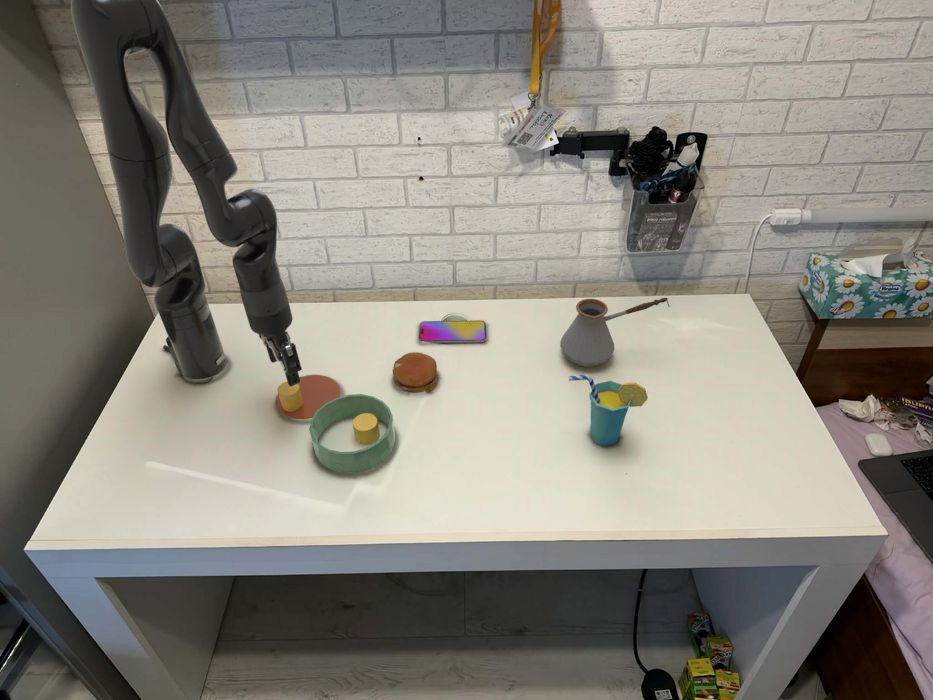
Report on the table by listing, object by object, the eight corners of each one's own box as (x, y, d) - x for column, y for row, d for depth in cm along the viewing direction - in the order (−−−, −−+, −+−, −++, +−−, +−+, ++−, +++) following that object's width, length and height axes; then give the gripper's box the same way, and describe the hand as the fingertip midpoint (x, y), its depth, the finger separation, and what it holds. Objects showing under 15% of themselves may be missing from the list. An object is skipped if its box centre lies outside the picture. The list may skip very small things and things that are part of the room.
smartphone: (486, 340, 145) (418, 341, 145) (486, 342, 146) (418, 343, 146) (485, 320, 151) (420, 321, 151) (485, 322, 152) (420, 323, 152)
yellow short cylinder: (351, 442, 123) (348, 428, 120) (361, 425, 126) (358, 411, 124) (374, 447, 122) (371, 432, 119) (383, 430, 125) (381, 415, 123)
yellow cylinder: (278, 409, 130) (273, 393, 127) (288, 395, 133) (283, 379, 130) (297, 413, 129) (293, 397, 126) (306, 399, 132) (303, 382, 129)
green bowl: (301, 466, 119) (294, 444, 116) (335, 410, 130) (331, 388, 127) (377, 483, 116) (374, 461, 112) (406, 424, 127) (404, 401, 123)
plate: (264, 415, 130) (263, 412, 129) (295, 373, 139) (294, 370, 139) (324, 428, 127) (323, 424, 126) (351, 383, 136) (351, 380, 136)
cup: (562, 448, 122) (569, 389, 112) (562, 418, 127) (568, 359, 118) (639, 453, 120) (652, 394, 111) (635, 422, 126) (647, 364, 117)
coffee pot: (562, 373, 138) (567, 316, 128) (556, 339, 146) (561, 283, 137) (664, 372, 137) (677, 314, 128) (652, 338, 146) (664, 282, 136)
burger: (444, 389, 135) (443, 372, 132) (400, 400, 132) (398, 383, 129) (430, 360, 142) (429, 343, 139) (388, 370, 140) (386, 353, 137)
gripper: (231, 291, 118) (252, 360, 128) (261, 329, 109) (281, 400, 119) (270, 277, 121) (288, 345, 131) (302, 313, 112) (319, 383, 122)
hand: (285, 371), depth 125 cm, fingers open, 8 cm apart
